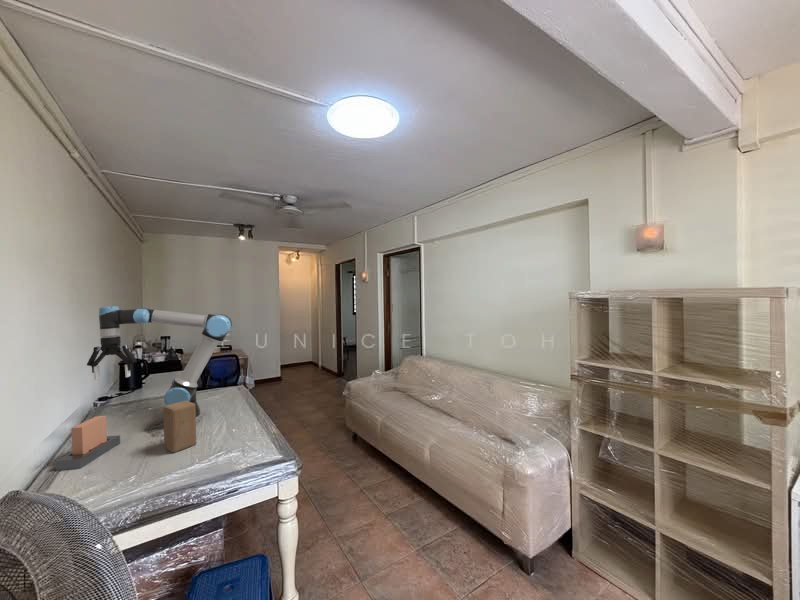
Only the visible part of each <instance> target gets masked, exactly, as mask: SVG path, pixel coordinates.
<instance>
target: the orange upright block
mask: <svg viewBox="0 0 800 600" xmlns="http://www.w3.org/2000/svg"><path fill="white" fill-rule="evenodd" d="M70 430H71V433H70V434H71V452H72V456H74V455H84V454H86V453H88V452H89V450H91V449H92V448H94V447H96V446H97V445H99V444H103V443H104V442H106V441H107V436H108V434H107V433H108V432H107V431H108V429H107V415H96V416H94V417H92V418H89V419H87V420H85V421H83V422H81V423H79V424H76V425H75V426H73V427H71V429H70Z"/></svg>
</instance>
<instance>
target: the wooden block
mask: <svg viewBox="0 0 800 600" xmlns="http://www.w3.org/2000/svg"><path fill="white" fill-rule="evenodd" d="M162 409H163V411H162V412H163V441H164V442H163V443H164V445H163V447H164V448H165V449H166V450H168V451H170V452H172V453H177V452H180V451H182V450H185V449H187V448H190V447H193V446H195V445H197V418H196V417H197V416H196V410H195V404H194V403H191V402H189V401H181V402H177V403H174V404H170V405H166V404H165V406H163V408H162Z"/></svg>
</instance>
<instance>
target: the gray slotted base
mask: <svg viewBox="0 0 800 600" xmlns="http://www.w3.org/2000/svg"><path fill="white" fill-rule="evenodd" d="M120 444H121V435H107V441H106V442H104V443H103V444H99V445H97V446H96V447H94V448H92V449H91V450H89V452H88V453H86V454H84V455H74V456H72V451H71V452H68V453H67V454H65V455H63V456H62V457H60V458H58V459H56V460H55V461H54V463H55V465H54V466H55V471H56V472H57V471H67V470H80V469H82V468H83V467H85V466H87V465H88V464H91V462H93V461H95V460H97V459H99V457H102V455H105V454H106V453H108V452H109V451H111V450H112V449H114V448H115V447H117V446H119V445H120Z"/></svg>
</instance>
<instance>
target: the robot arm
mask: <svg viewBox="0 0 800 600" xmlns="http://www.w3.org/2000/svg"><path fill="white" fill-rule="evenodd" d="M98 319H99V320H98V322H99V337H100V346H93V351H92V354H91V356H90V357H89V359H88V361H87V363H86V366H87V367H91V373H92V374H93V376H94V377H93V378H94V379H93V380H95V381H96V380H98V379H101V372H100V365H99V364H100V362H102V361H103V359H104V358H105V357H106V356H110V355H111V356H113V355H115V356H117V357H118V358H120V359H121V360H122V361H123V362H124V363H125V364H124V372H125V373H124V374H125V376H124V377H125V378H129V377H131V371H132V370H133V363H136V362H137V360H136V358H135V357H134V355H133V353H132V352H131V350H130V349H129V346H128V344H124V345H121V336H120V335H121V328H120V327H121V325H134V324H135V325H136V324H146V323H151V324H161V325H172V326H181V327H191V328H192V327H193V328H202V329H203V330H202V332H201V336H202V338H201V339H200V341H199V343H198V345H197V346H196V348H195V350H194V352H193V354H192V355H191V356H190V358H189V360H188V362H187V363H186V365H185V367H184V369H183V371H182V373H181V374H180V376H179V377H176V378H172V380H171V385H170V388H169V389H168V390H167V391H166V392H165V394H164V395H163V396H164V397H163V401H164V403H165V406H166V405H170V404H174V403H177V402H181V401H189V402H191V403H194V404H195V410H196V417H198V416H200V414H201V409H200V405H199V404H198V402H197V401H198V400H197V388H198V386H199V385H198V383H197V382H198V381H199V379H200V376H201V375H202V373H203V371H204V369H205V367H206V366H207V364H208V363H209V361H210V359H211V357H212V355H213V353H214V352H215V350H216V348H217V346H218V344H220V343H223V342H224V340H225V339H226V336H227V335H228V333H229V331H231V329H232V326H233V325H232V324H233V322H232V319H231V318H230V317H229V316H228V315H226V314H223V313H222V314H215V313H214V314H211V313H207V314H206V315H205V314H195V313H186V312H180V311H179V312H178V311H170V310H160V309H153V308H152V309H150V308H146V307H141V308H133V309H120V308H119V306H117V305H116V306H112V305H111V306H109V305H108V306H101V307H99V309H98ZM100 351H101V352H100Z"/></svg>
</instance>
